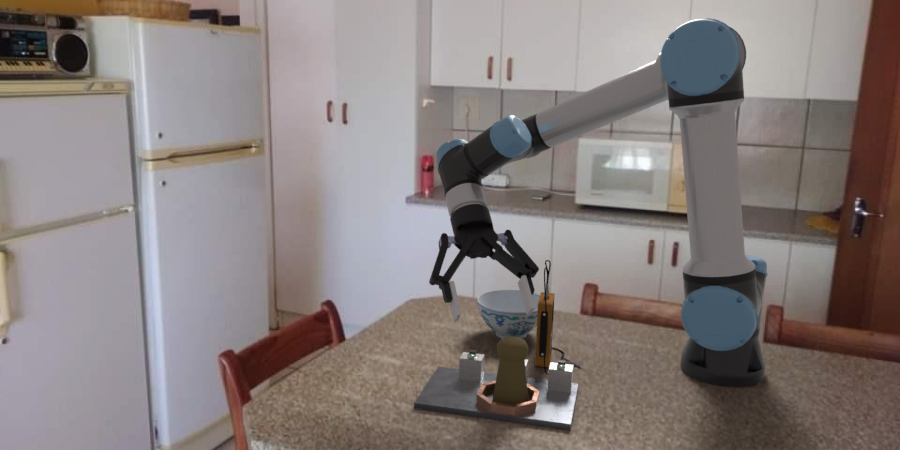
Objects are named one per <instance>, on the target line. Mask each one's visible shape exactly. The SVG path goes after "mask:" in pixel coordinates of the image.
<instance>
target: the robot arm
mask: <svg viewBox="0 0 900 450" xmlns="http://www.w3.org/2000/svg"><path fill="white" fill-rule="evenodd" d="M746 60H747V47H746V45H745V42H744V39H743V38H742V36H741V35H740V34H739V33H738V32H737V31H736V30H735V29H734V28H733V27H731V26H729V25H727V23H726V22H723V21H721V20H719V19H715V18H710V17H707V18H697V19H692V20H689V21H687V22H685V23H682V24H681V25H679V26H678V27H677V28H675V29H674V30H673V31H672V32H671V33H670V34H669V35H668V37H667V38H666V39H665V41H664V43H663V45H662V48H661V51H660V52H659V54H658V55H657V58H656V59H655V60H654V61H651V62H649V63H646V64H645V65H642V66H640V67H638V68H635V69H634V70H631V71H629V72H627V73H624V74H622V75H620V76H618V77H616V78H614V79H610V80H609V81H607V82H605V83H602V84H600V85H598V86H596V87H593V88H592V89H588V90H587V91H584V92H582V93H580V94H577V95H576V96H572V97H571V98H568V99H567V100H565V101H562V102H560V103H557V104H556V105H553V106H551V107H549V108H546V109H544V110H542V111H540V112H537V113H536V114H532V115H530V116H528V117H526V118H524V119H521V118H519V117H517V116H516V115H513V114H510V115H509V114H508V115H506V116H504V117H503V118H502V119H500V120H497V121H495V122H494V123H493V124H492V125H491V126H489V127H488V128H487V129H485V130H483V131H482V132H481V133H480V134H478V135H477V136H475V137H474V138H473V139H471V140H469V141H467V140H466V139H463V138H462V139H461V138H454V139H452V140H451V141H444V142H443V143H442V144H441V145H440V146H439V147H438V148H437V151H436V155H435V156H436V157H435V158H436V164H437V172H438V175H439V177H440V181H441V185H442V189H443V192H444V197H445V202H446V207H447V211H448V216H449V217H450V219H449V220H450V225H451V228H452V232H453V235H448V234H447V233H445V232H443V233H441V235H440V237H439V239H438V249H439V251H438V253H437V256H436V258H435V259H436V260H435V263H434V266H433V270H432V272H431V275H430V279H429V280H428V281H429V283H428V284H429V285H431V286H435V285H436V286H438V288H439V290H441V295H442V299H443V301H444V303H445V304H447V303H449V306H450V310H451V316H452V319H453V322H454V323H455V322H459V320H460V318H461V317H462V310H461V306H460V302H459V297H458V294H457V293H458V292H457V288H456V284H455V281H454V280H451V279H452V278H453V276H454V275H455V273H456V272H457V270H458V268H459V267H460V265H461V264H462V263H463V261H464V260H465V258H466V257H467V258H470V260H473V259H477V258H479V259H480V258H481V259H486V258H488V257H489V258H490V259H491V260H493V261H496V262H498V263H499V264H500V265H501V266H503V268H505V269H506V270H508V272H511V273H512V274H513V275H514V276H516V278H517V279H519V280H518V282H517V286H518V289H519V290H520V293H521V296H522V300H523V303H524V307H525V311H526V314H527V315H531V313H532V312H533V310H534V309H535V305H534V301H533V298H532V295H533V293H535V287H534V284H533V279H532V278H535V277H536V275H537V273H538V272H539V271H540V267H539V266H538V265H537V263H535V262H534V260H533V259H532V258H531V257H530V256H529V254H528V253H527V252H526V251H525V250H524V249H523V248H522V247H521V245H520V244H519V243H518V242H517V240H515V238H514V234H513V231H511V230H510V229H505V231H504V232H502V233H501V232H500V233H497V232H496V231H495V229H494V225H493V220H492V217H491V213H490V210H489V208H488V202H487V198H486V195H485V191H484V188H483V184H482V180H483V179H485V178H487V177H488V176H489V175H491V174H492V173H494V172H496V171H497V170H500V169H501V168H502V167H504V166H506V165H508V164H510V163H514V162H517V161H520V160H524V159H530V158H533V157H536V156H538V155H539V154H540V153H542V152H545V151H547V150H549V149H552V148H554V147H556V146H558V145H562V144H565V143H566V142H569V141H571V140H574V139H576V138H579V137H581V136H583V135H585V134H588V133H591V132H593V131H595V130H598V129H600V128H603V127H605V126H608V125H610V124H612V123H614V122H617V121H619V120H622V119H625V118H627V117H630V116H632V115H634V114H636V113H640V112H641V111H644V110H646V109H648V108H651V107H653V106H656V105H659V104H661V103H664V102H666V101H668V110H669V111H671V112H672V113H674V114H675V115H676V116H677V117H678V119H679V126H680V127H679V128H680V139H681V153H682V154H681V155H682V165H683V166H682V167H683V177H684V187H685V189H684V190H685V200H686V201H685V203H686V213H687V214H686V215H687V225H688V227H687V229H688V238H689V239H688V240H689V250H690V251H689V252H690V258H689V260H688V261H687V262H686V263H685V265H684V266H682V281H683V282H682V283H683V292H684V293H683V295H684V300H683V303H682V305H681V310H680V319H681V323H682V326H683V327H682V328H683V329H684V330H685V332H686V334H687V335H688V339H687V341H686V343H685V344H684V346H683V350H682V351H681V354H680V355H681V356H680V364H679V365H680V368H681V369H682V370H683V372H684V373H685V374H686V375H688V376H690V377H692V378H694V379H697V380H698V381H702V382H705V383H708V384H711V385H717V386H722V387H732V388H742V387H743V388H745V387H746V388H747V387H753V386H756V385H758V384H761V383H762V382H763V381H764V379H765V374H766V363H765V359H764V354H763V349H762V346H761V341H760V331H761V330H760V329H761V322H762V314H763V304H764V295H765V288H766V281H767V277H768V271H767V270H768V265H767V262H766V261H765V260H764V258H761V257H758V256H754V255H749V254H745V253H746V252H745V251H746V250H745V240H744V239H745V238H744V226H743V225H744V224H743V212H742V211H743V207H742V196H741V194H742V193H741V180H740V165H739V164H740V163H739V151H738V139H737V138H738V137H737V135H738V134H737V123H736V122H737V121H736V111H737V110H738V108H739V107H740V106H741V104H743V102H744V101H745V91H744V75H743V72H744V71H743V70H744V67H745V65H746V62H747V61H746ZM498 242H500V243H501V245H500V244H499V243H498ZM452 245H454V246H455V247H456V248H457V249H458V253H457V255H456V256H455V257H454V259H453V261H452V262H451V264H450V265H449V266H448V268H447V270H446V271H445V273H444V274H443V275H440V273H441V271H442V267H443V264H444V261H445V258H446V254H447V251H448V249H449V248H451V246H452ZM503 246H504V248H505V249H506V250H505V249H504V248H503Z"/></svg>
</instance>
